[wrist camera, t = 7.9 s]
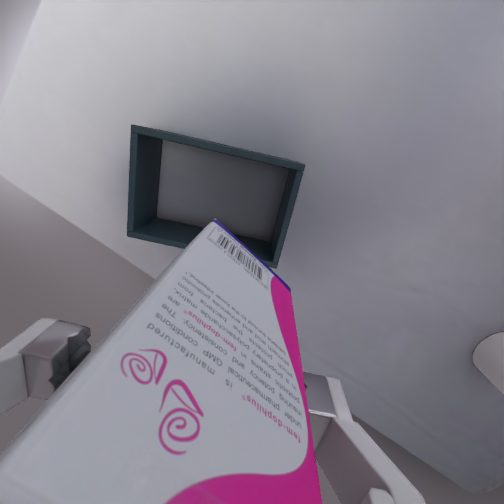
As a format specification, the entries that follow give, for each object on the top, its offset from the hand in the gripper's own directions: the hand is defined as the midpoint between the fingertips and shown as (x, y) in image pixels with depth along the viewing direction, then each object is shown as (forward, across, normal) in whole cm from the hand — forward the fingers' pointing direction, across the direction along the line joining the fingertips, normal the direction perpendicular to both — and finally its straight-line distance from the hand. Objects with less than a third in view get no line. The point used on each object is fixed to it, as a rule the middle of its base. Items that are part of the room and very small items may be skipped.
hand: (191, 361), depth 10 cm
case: (+23, +3, -2) cm, 23 cm away
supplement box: (+6, 0, 0) cm, 6 cm away
